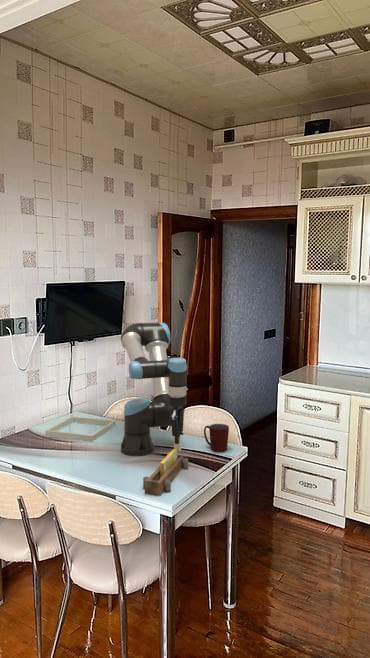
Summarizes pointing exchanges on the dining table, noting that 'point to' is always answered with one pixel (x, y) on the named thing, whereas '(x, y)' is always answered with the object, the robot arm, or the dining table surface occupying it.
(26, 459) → the dining table surface
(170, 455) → the candy box
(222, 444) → the mug
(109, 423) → the tray rim
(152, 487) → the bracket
